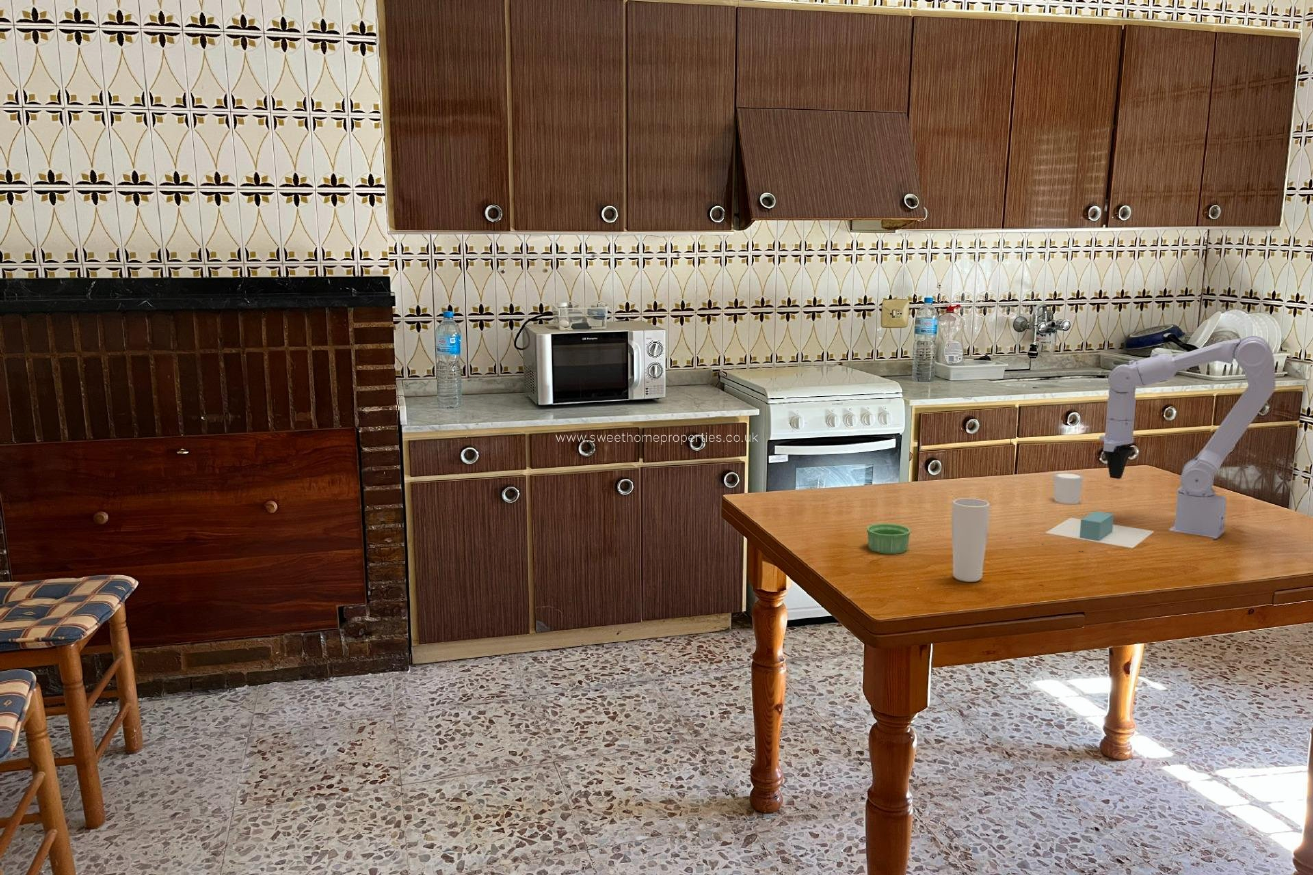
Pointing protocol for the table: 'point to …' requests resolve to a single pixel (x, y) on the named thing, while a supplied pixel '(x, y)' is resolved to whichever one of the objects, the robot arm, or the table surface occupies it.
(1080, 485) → the white cylinder
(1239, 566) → the table surface
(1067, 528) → the white mat
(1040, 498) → the table surface
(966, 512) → the drinking glass
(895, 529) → the ramekin
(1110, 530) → the teal block
